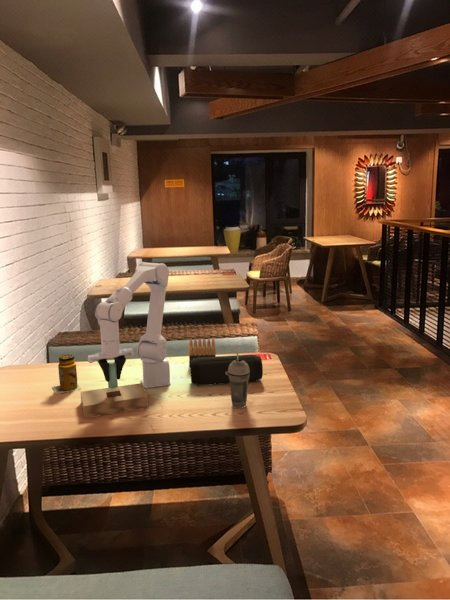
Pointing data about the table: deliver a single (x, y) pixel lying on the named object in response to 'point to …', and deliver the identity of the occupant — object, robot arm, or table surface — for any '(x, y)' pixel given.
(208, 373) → the portable speaker
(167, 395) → the table surface
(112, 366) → the peg
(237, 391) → the beverage cup
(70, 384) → the condiment
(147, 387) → the robot arm
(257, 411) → the table surface
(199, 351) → the ammunition clip
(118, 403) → the hole block
